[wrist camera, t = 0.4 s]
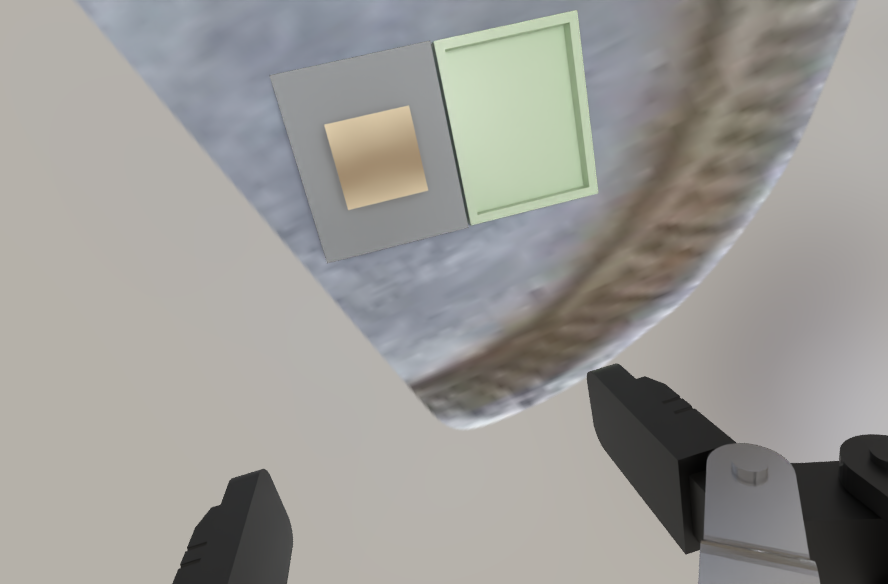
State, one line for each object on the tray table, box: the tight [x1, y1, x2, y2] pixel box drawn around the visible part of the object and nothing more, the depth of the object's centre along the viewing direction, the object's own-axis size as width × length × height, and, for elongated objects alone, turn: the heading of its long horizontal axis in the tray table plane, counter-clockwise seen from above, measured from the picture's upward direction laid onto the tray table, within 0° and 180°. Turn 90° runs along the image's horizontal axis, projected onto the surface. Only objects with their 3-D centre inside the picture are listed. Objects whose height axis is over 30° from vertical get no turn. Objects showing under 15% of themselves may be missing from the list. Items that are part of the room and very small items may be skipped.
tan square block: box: [324, 105, 428, 210], centre depth 31 cm, size 5×5×3 cm
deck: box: [270, 41, 469, 263], centre depth 33 cm, size 12×10×2 cm
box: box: [431, 10, 598, 225], centre depth 34 cm, size 12×10×2 cm
